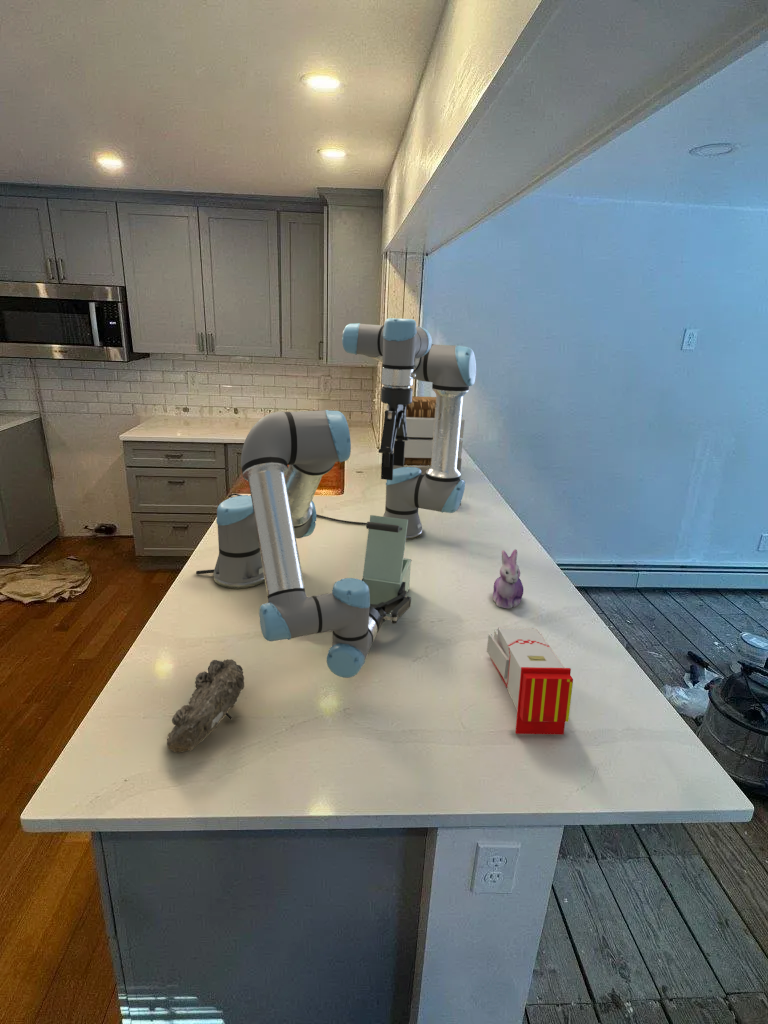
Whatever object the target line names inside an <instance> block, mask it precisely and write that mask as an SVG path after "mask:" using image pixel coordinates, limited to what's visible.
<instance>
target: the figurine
mask: <svg viewBox="0 0 768 1024" xmlns="http://www.w3.org/2000/svg"><path fill="white" fill-rule="evenodd" d="M517 557H518V549H516V548H515V549H514V550H513V551H512V552H511V554H510V556H509V555H508V553H507V552H506V551H505V550H504V549H503V550H501V566H500V569H499V577H497V578H496V579H495V580H494V583H493V591H492V600H493V601H494V603H495V604H496V606H497V607H499V608H504V609H512V608H515V607H518V606H519V605H520V604H521V602H522V599H523V596H524V585H523V582H522V580H521V579H520V576H521V570H520V567H519V565H518V563H517V559H518V558H517Z"/></svg>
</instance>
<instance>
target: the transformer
mask: <svg viewBox="0 0 768 1024" xmlns="http://www.w3.org/2000/svg"><path fill="white" fill-rule="evenodd" d="M435 405H436V396H415V395H414V396H413V395H412V402H411V403H410V404H408V405H406V427H407V437H408V441H405V440H403V441H405V449H404V466H396V465H393V469H397V468H402V467H405V466H406V467H417V466H418V467H431V458H432V445H433V431H434V418H435ZM386 410H389V404H387V405H386ZM464 429H465V419H464V418H463V414H462V415H461V426H460V437H459V447H458V458H457V470H458V471H459V472H460V473H461V472H462V461H463V460H462V453H463V442H464V441H463V440H462V439H463V438H464V431H465V430H464ZM395 440H396V439H395ZM387 448H389V447H387ZM393 453H394V448H393Z"/></svg>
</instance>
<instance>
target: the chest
mask: <svg viewBox="0 0 768 1024" xmlns="http://www.w3.org/2000/svg"><path fill="white" fill-rule="evenodd" d="M411 569H412V559H411V558H405V557H404V558H403V566H402V574H401V582H400V583H398V582H392V581H385V580H378V579H371V578H364V579H363V578H362V579H363V581H364V582H365V583H366V584H367V585H368V587H369V594H370V604H379V603H381V602H384V603H385V602H387V601H389V600H391V599H393V598H395V597H397V594H398V591H399V589H400V587H401V585H402V583H403V582H406V583H405V591H407V593H408V591H409V589H410V584H411V583H410V582H411ZM389 613H391V612H389ZM389 613H388V614H389Z"/></svg>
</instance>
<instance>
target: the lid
mask: <svg viewBox="0 0 768 1024" xmlns="http://www.w3.org/2000/svg"><path fill="white" fill-rule="evenodd" d="M366 523H367V525H365V526H366V527H365V528H366V530H368V532H367V539H366V547H365V556H364V564H363V571H362V572H363V573H362V578H363V577H364V578H371V579H378V580H385V581H392V582H398V583H400V582H401V574H402V566H403V558H405V557H404V556H405V549H406V541H407V540H406V534H407V525H408V520H406V519H398V518H390V517H383V515H382V516H381V515H373V514H370V515H369V521H367V522H366Z"/></svg>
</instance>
